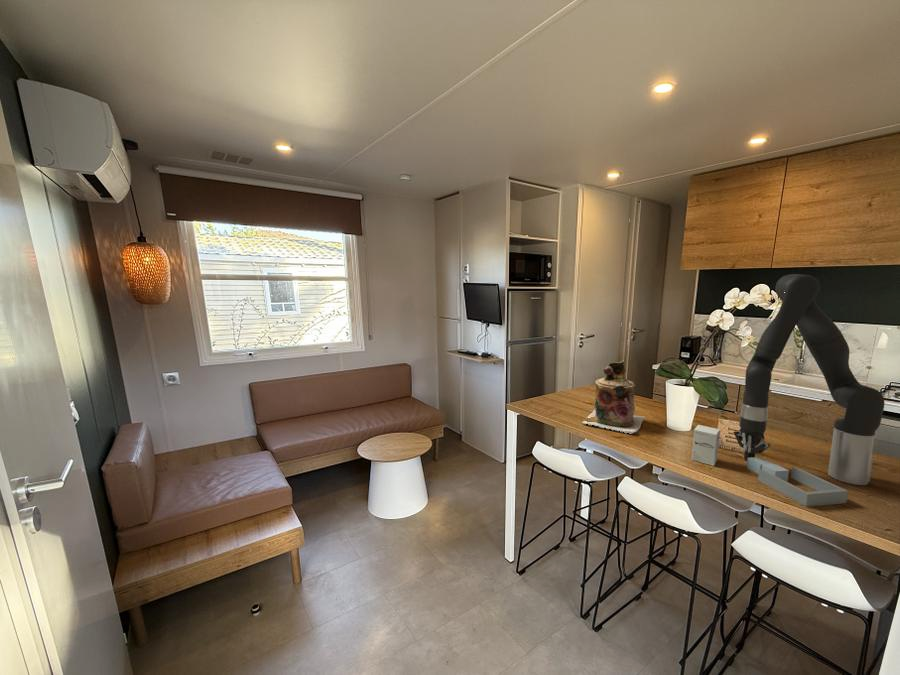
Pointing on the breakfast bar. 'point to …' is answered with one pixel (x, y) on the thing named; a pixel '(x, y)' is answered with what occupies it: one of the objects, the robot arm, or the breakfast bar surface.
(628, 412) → the cookie jar
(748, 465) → the tile
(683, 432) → the breakfast bar surface
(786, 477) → the tile
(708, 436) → the supplement box
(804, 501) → the tray
